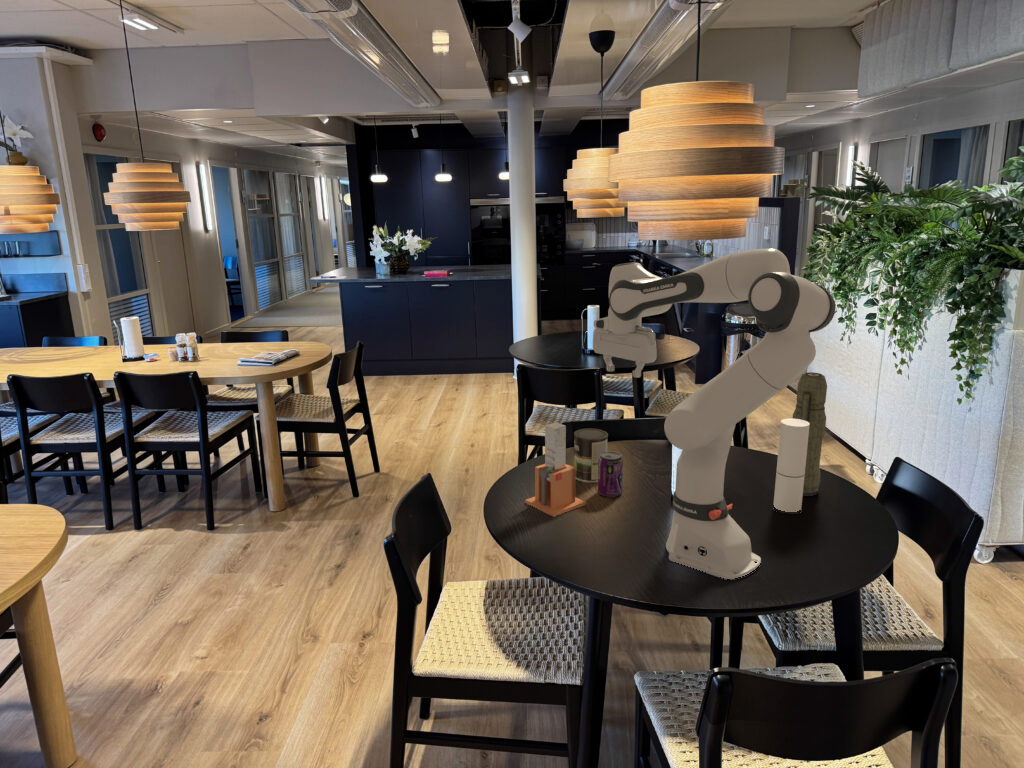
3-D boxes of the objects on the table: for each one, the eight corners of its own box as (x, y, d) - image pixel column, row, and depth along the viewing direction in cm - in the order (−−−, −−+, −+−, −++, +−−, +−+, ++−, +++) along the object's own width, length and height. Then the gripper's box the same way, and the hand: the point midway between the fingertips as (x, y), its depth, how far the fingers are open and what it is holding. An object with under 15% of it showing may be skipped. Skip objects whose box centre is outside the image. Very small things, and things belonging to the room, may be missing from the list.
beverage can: (614, 500, 202) (615, 461, 199) (593, 494, 206) (593, 455, 203) (626, 492, 207) (627, 453, 204) (605, 487, 212) (606, 449, 209)
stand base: (585, 504, 199) (586, 467, 196) (553, 516, 192) (553, 478, 189) (556, 492, 208) (556, 456, 206) (525, 503, 201) (524, 465, 198)
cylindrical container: (801, 506, 197) (810, 420, 190) (800, 516, 190) (808, 427, 184) (774, 502, 200) (782, 417, 193) (772, 512, 193) (779, 424, 187)
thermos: (821, 486, 210) (833, 371, 201) (814, 501, 200) (827, 380, 191) (790, 481, 214) (800, 368, 206) (782, 494, 205) (792, 376, 196)
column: (565, 480, 198) (566, 425, 194) (553, 484, 195) (553, 429, 191) (555, 476, 201) (555, 422, 197) (543, 480, 198) (543, 425, 194)
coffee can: (574, 483, 215) (574, 438, 211) (572, 470, 225) (573, 428, 221) (608, 483, 214) (609, 438, 211) (605, 470, 224) (606, 428, 221)
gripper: (663, 327, 184) (661, 378, 187) (605, 318, 199) (604, 366, 203) (647, 330, 180) (645, 382, 183) (589, 320, 195) (588, 369, 199)
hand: (623, 373), depth 193 cm, fingers open, 8 cm apart
